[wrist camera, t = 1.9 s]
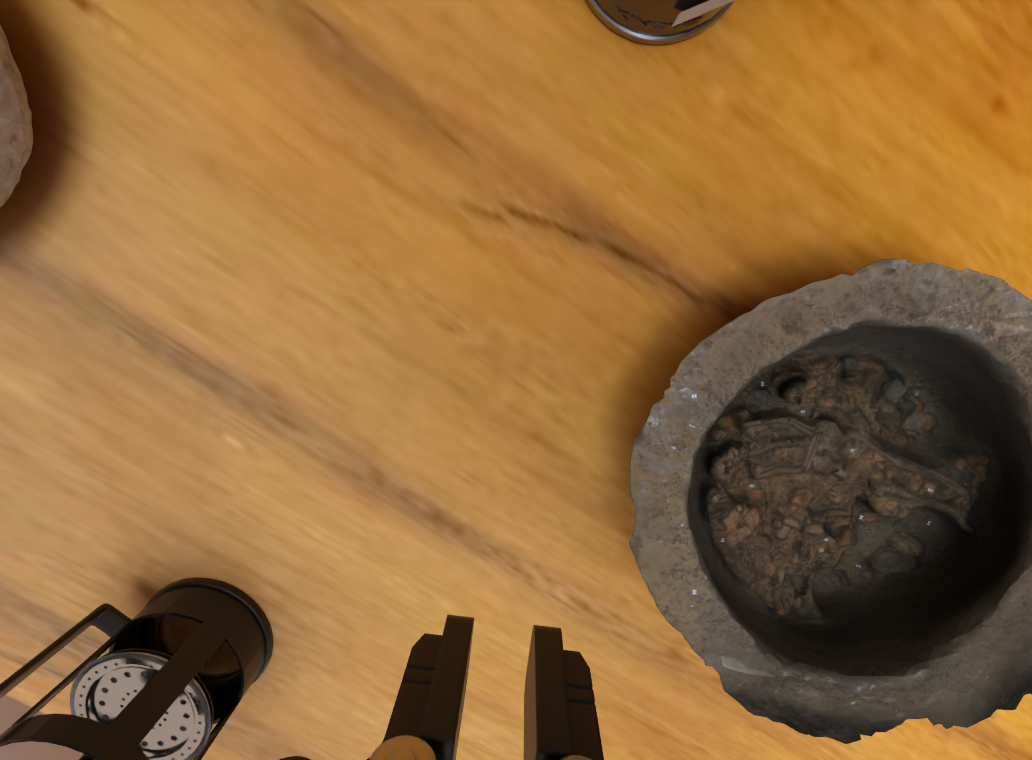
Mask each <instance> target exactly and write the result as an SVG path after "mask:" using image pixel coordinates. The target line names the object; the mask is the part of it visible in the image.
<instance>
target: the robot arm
mask: <svg viewBox="0 0 1032 760" xmlns="http://www.w3.org/2000/svg"><path fill="white" fill-rule="evenodd" d="M734 1H735V0H586V2H587V3H588V5H589V7H590V8H591V9H592V11H593V12H594V13H595V15H596V16H597V17H598V18H599V19H600V20H601V21H602V22H603V23H604V24H605V25H606V26H607V27H608V28H610V29H611V30H613V31H614V32H615V33H617V34H619V35H621V36H623V37H625V38H627V39H630V40H632V41H636V42H639V43H645V44H654V45H660V44H670V43H675V42H679V41H683V40H685V39H688V38H691V37H693V36H695V35H697V34H699V33H700V32H702V31H704V30H705V29H707V28H708V27H709V26H711V25H712V24H713V23H715V22H716V21H717V20H718V19H719V18H720V17H721V16H722V15H723V14H724V13H725V12H726V11H727V10H728V8H729V7H730V6H731V5H732V3H733V2H734ZM473 625H474V618H472V617H463V616H455V615H447V619H446V623H445V627H444V632H443V636H442V635H433V634H424V635H423V636H422V637H421V638H420V639H419V640H418V641H417V643H416V644H415V645H414V646H413V647H412V650H411V653H410V656H409V659H408V663H407V667H406V669H405V672H404V676H403V680H402V682H401V686H400V689H399V692H398V695H397V699H396V702H395V705H394V708H393V712H392V715H391V718H390V722H389V725H388V728H387V731H386V735H385V737H384V740H383V742H382V744H381V745H380V746H379V747H378V748H377V749H376V750H375V751H374V752H373V754H372V755H371V757H370V758H368V759H367V760H455V759H456V753H457V746H458V739H459V732H460V725H461V719H462V712H463V705H464V698H465V692H466V684H467V677H468V669H469V660H470V651H471V642H472V634H473ZM280 760H310V759H308V758H305V757H301V756H293V757H286V758H282V759H280ZM524 760H604V758H603V751H602V745H601V738H600V732H599V725H598V719H597V712H596V706H595V699H594V693H593V690H592V680H591V673H590V668H589V666H588V665H587V663H586V662H585V660H584V658H583V657H582V655H581V654H580V652H576V651H568V650H563V643H562V632H561V628H555V627H547V626H538V625H534V626H533V631H532V637H531V644H530V651H529V658H528V665H527V672H526V681H525V695H524Z"/></svg>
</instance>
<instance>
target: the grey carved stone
mask: <svg viewBox="0 0 1032 760" xmlns="http://www.w3.org/2000/svg"><path fill="white" fill-rule="evenodd" d="M31 119H32V113H31V111H30V108H29V106H28V100H27V93H26V90H25V87H24V85H23V80H22V76H21V74H20V72H19V69H18V67H17V65H16V63H15V61H14V59H13V56H12V54H11V51H10V48H9V44H8V40H7V38H6V36H5V34H4V31H3V29H2V27H1V25H0V207H1V206H2V205H4V204H5V202H6V201H7V200H8V199H9V197H10V196H11V194H12V192H13V190H14V187H15V185H16V184H17V183H18V182H19V180H20V176H21V170H22V169H23V167H24V166H25V164H26V163H27V161H28V159H29V157H30V154H31V151H32V145H33V130H32V121H31Z"/></svg>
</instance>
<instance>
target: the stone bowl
mask: <svg viewBox="0 0 1032 760" xmlns="http://www.w3.org/2000/svg"><path fill="white" fill-rule="evenodd" d="M670 383H671V387H670V388H668V389H666V390H665V393H664V396H663V399H662V400H661V401H659V402H657V403H655V404H653V406H652V409H651V411H650V414H649V418H648V420H647V422H646V423H645V425H644V427H643V429H642V432H641V434H640V435H638V436H637V437H636V438H635V439H634V445H633V452H632V456H631V474H630V481H631V496H632V500H633V503H634V506H635V528H634V531H633V535H632V538H631V540H630V542H629V544H630V547H631V549H632V552H633V555H634V557H635V560H636V562H637V565H638V567H639V570H640V572H641V574H642V576H643V579H644V580H645V582H646V584H647V586H648V589H649V591H650V593H651V594H652V596H653V598H654V601H655V603H656V606H657V607H658V609H659V610H660V612H661V613H662V614H663V616H664V617H665V619H666V620H667V621H668V622H669V623H670V624H671V625H672V627H674V628H675V629H677V630H678V631H679V632H681V633H682V634H683V636H684V638H685V640H686V641H687V642H688V643H689V645H690V646H691V648H692V649H693V650H694V651H695V652H696V653H697V654H698V655H699V656H700V657H701V658H702V659H703V660H704V662H705V665H708V666H712V667H713V668H714V669H715V670H716V671H717V672H718V673H719V675H720V678H721V682H722V685H723V689H724V691H725V692H727V693H728V694H729V695H730V696H732V697H733V698H734V699H735V700H736V701H738V702H739V703H740V704H741V705H742V706H743V707H744V708H745V709H746V710H747V711H749V712H750V713H752V714H753V715H756V716H762V717H767V718H769V719H770V720H772V721H774V722H779V723H784V724H786V725H788V726H789V727H791V728H793V729H794V730H796V731H798V732H799V733H803V734H806V735H808V734H809V735H811V736H813V737H829V738H832V739H834V740H837V741H840V742H842V743H845V744H848V743H852V742H855V741H858V740H861V738H860V734H862V735H868V736H872V735H873V734H874V733H875V732H886V731H888V730H890V729H893V728H894V727H896V726H898V725H901V724H902V723H903V722H904V721H905V720H906V719H921V718H928V719H929V720H930V722H931V723H932V724H933V725H936V724H942V725H943V727H945V728H946V729H948V728H951V727H952V726H954V725H955V726H960V727H965V728H967V727H969V726H972V725H974V724H976V723H978V722H980V721H982V720H984V719H986V718H989V717H990V716H991V715H992V714H993V713H994V712H995V711H996V710H997V709H1002V710H1014V709H1016V707H1017V706H1018V704H1019V702H1020V701H1021V699H1022V697H1023V696H1024V695H1025V694H1029V693H1030V694H1032V301H1031V300H1029V299H1028V298H1027V297H1025V296H1024V295H1023V294H1021V293H1020V292H1019V291H1017V290H1016V289H1014V288H1012V287H1010V286H1009V285H1008V284H1007V283H1006V282H1005V281H1004V280H1002V279H1000V278H997V277H995V276H991V275H986V274H982V273H979V272H977V271H974V270H971V269H965V270H963V271H958V270H955V269H952V268H949V267H946V266H942V265H939V264H933V263H931V264H913V263H911V262H909V261H908V260H906V259H902V260H895V259H882V260H879V261H876V262H873V263H871V264H869V265H868V266H867V267H863V268H861V269H860V270H858V271H857V272H856V273H855V274H854V275H853V276H850V275H846V274H840V275H838V276H836V277H834V278H831V279H827V280H822V281H818V282H813V283H811V284H809V285H807V286H805V287H802V288H800V289H798V290H796V291H794V292H792V293H789V294H783V295H781V296H778V297H772V298H769V299H768V300H766V301H764V302H762V303H760V304H759V305H758V306H757V307H756V308H755V309H753V310H752V311H750V312H747V313H745V314H742V315H741V316H739V317H738V318H736V319H734V320H733V321H731V322H729V323H728V324H726V325H725V326H723V327H722V328H720V329H719V330H717V331H716V332H715V333H713V334H712V335H710V336H709V337H707V338H706V339H704V340H703V341H701V342H700V343H699V344H698V345H697V346H696V347H695V348H694V349H693V350H692V351H691V352H690V353H689V354H688V355H687V356H686V357H685V358H684V359H683V360H682V361H681V363H680V365H679V367H678V369H677V371H676V373H675V375H673V376H672V377H671V379H670Z"/></svg>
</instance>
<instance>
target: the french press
mask: <svg viewBox="0 0 1032 760" xmlns="http://www.w3.org/2000/svg"><path fill="white" fill-rule="evenodd" d="M162 615H173V616H180V617H184V618H189V619H192V620H194V621H196V622H199V623H201V625H200V626H199V628H198V629H197V630H196V631H195V632H194V633H193V634H192V635H191V636H190V637H189V638H188V639H187V641H186V642H185V643H184V644H183V645H182V646H181V647H180V648H179V649H178V650H177V651H176V652H175V654H174V655H173V656H171V655H168V654H165V653H164V652H163V650H162V648H161V645H160V642H159V639H158V624H159V621H160V618H161V616H162ZM91 625H93V626H96V627H97V628H99V629H100V630H101V631H103V632H104V633H106V634H107V635H108V636H110V637H111V638H110V639H109V640H108V641H107V642H106V643H105V644H104V645H102V646H101V647H100V648H99V649H98V650H97V651H96V652H95V653H93V654H92V655H91V656H90V657H89V658H88V659H87V660H85V661H84V662H83V663H82V664H81V665H80V666H79V667H78V668H76V669H75V670H74V671H73V672H72V673H71V674H70V675H68V676H67V677H66V678H65V679H64V680H63V681H62V682H61V683H59V684H58V685H57V686H56V687H55V688H54V689H53V690H51V691H50V692H49V693H48V694H47V695H46V696H45V697H44V698H42V699H41V700H40V701H39V702H38V703H37V704H36V705H34V706H33V707H32V708H31V709H30V710H29V711H28V712H27V713H25V714H24V715H23V716H22V717H21V718H20V719H19V720H17V721H16V722H15V723H14V724H13V725H12V726H11V727H10V728H8V729H7V730H6V731H5V732H4V733H3V734H2V735H1V736H0V746H4V745H7V744H11V743H17V742H27V741H35V742H48V743H53V744H57V745H62V746H66V747H69V748H71V749H74V750H76V751H79V752H82V753H84V754H83V756H82V757H81V758H80V759H79V760H201V759H202V757H203V756H204V754H205V753H206V751H207V750H208V748H209V747H210V745H211V744H212V742H213V741H214V739H215V738H216V736H217V735H218V733H219V732H220V730H221V729H222V727H223V726H224V724H225V723H226V721H227V720H228V718H229V717H230V715H231V714H232V712H233V711H234V709H235V708H236V706H237V705H238V703H239V702H240V700H241V699H242V697H243V696H244V694H245V693H246V691H247V690H248V688H249V687H250V685H251V684H252V683H253V682H255V681H256V680H257V679H258V678H259V677H260V675H261V674H262V673H263V671H264V670H265V669H266V667H267V665H268V662H269V660H270V658H271V653H272V647H273V643H272V633H271V629H270V626H269V623H268V621H267V619H266V617H265V615H264V613H263V612H262V611H261V609H260V608H259V607H258V606H257V604H256V603H255V602H254V601H253V600H251V599H250V598H249V597H248V596H247V595H246V594H244V593H243V592H241V591H240V590H238V589H236V588H235V587H232V586H230V585H228V584H225V583H223V582H219V581H215V580H211V579H200V578H194V579H185V580H181V581H178V582H175V583H172V584H170V585H168V586H166V587H165V588H163V589H161V590H160V591H159V592H158V593H157V594H155V595H154V596H153V597H152V598H151V599H150V600H149V602H148V603H147V605H146V606H145V608H144V609H143V610H142V611H141V612H140V613H139V614H138V615H136V616H135V617H134V618H133V619H132V620H131V619H130V618H128V617H127V616H126V615H124V614H123V613H121V612H120V611H119V610H117V609H116V608H114V607H113V606H111V605H110V604H103V605H101V606H100V607H98V608H97V609H95V610H94V611H93V612H92V613H90V614H89V615H88V616H86V617H85V618H84V619H83V620H81V621H80V622H79V623H78V624H76V625H75V626H74V627H72V628H71V629H70V630H69V631H67V632H66V633H65V634H64V635H62V636H61V637H60V638H58V639H57V640H56V641H55V642H53V643H52V644H51V645H50V646H48V647H47V648H46V649H44V650H43V651H42V652H41V653H39V654H38V655H37V656H36V657H34V658H33V659H32V660H30V661H29V662H28V663H27V664H25V665H24V666H23V667H22V668H20V669H19V670H18V671H16V672H15V673H14V674H13V675H11V676H10V677H9V678H8V679H6V680H5V681H4V682H2V683H1V684H0V698H2V697H3V696H4V695H5V694H7V693H8V692H9V691H10V690H12V689H13V688H14V687H15V686H16V685H18V684H19V683H20V682H21V681H23V680H24V679H25V678H26V677H28V676H29V675H30V674H31V673H32V672H34V671H35V670H36V669H37V668H39V667H40V666H41V665H42V664H44V663H45V662H46V661H47V660H48V659H50V658H51V657H52V656H53V655H55V654H56V653H57V652H58V651H60V650H61V649H62V648H63V647H64V646H66V645H67V644H68V643H69V642H71V641H72V640H73V639H74V638H76V637H77V636H78V635H79V634H80V633H82V632H83V631H84V630H85V629H87V628H88V627H89V626H91ZM223 641H225V642H226V643H227V644H228V645H229V647H230V648H231V649H232V651H233V653H234V654H235V656H236V658H237V660H238V663H239V666H240V670H241V671H240V672H238V673H237V674H235V675H233V676H231V677H227V678H224V679H216V680H211V679H202V678H200V677H199V676H198V675H197V673H198V672H199V671H200V669H201V668H202V667H203V666H204V665H205V663H206V662H207V661H208V660H209V658H210V657H211V656H212V655H213V654H214V652H215V651H216V650H217V649H218V647H219V646H220V645H221V644H222V643H223ZM110 646H111V647H110ZM109 647H110V650H109V653H108V654H106V655H104V656H102V657H100V658H98V657H99V656H100V655H101V654H102V653H104V652H105V651H106V650H107V649H108V648H109ZM97 658H98V659H97ZM75 678H76V679H75ZM74 679H75V680H74ZM73 680H74V683H73V686H72V689H71V693H70V707H71V713H72V715H67V714H47V715H38V716H34V715H35V714H36V713H37V712H38V711H39V710H40V709H41V708H43V707H44V706H45V705H46V704H47V703H48V702H49V701H50V700H51V699H53V698H54V697H55V696H56V695H57V694H58V693H59V692H60V691H61V690H63V689H64V688H65V687H66V686H67V685H68V684H69V683H70V682H71V681H73ZM33 716H34V717H33ZM217 722H218V723H217ZM215 723H217V724H216V726H215V727H214V729H213V730H212V732H211V729H212V725H213V724H215ZM210 732H211V733H210Z"/></svg>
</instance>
